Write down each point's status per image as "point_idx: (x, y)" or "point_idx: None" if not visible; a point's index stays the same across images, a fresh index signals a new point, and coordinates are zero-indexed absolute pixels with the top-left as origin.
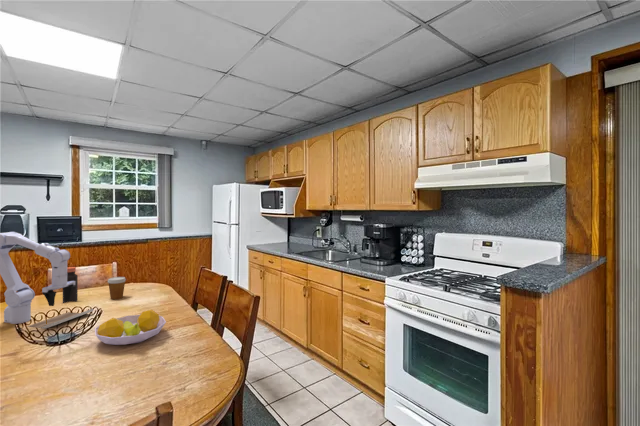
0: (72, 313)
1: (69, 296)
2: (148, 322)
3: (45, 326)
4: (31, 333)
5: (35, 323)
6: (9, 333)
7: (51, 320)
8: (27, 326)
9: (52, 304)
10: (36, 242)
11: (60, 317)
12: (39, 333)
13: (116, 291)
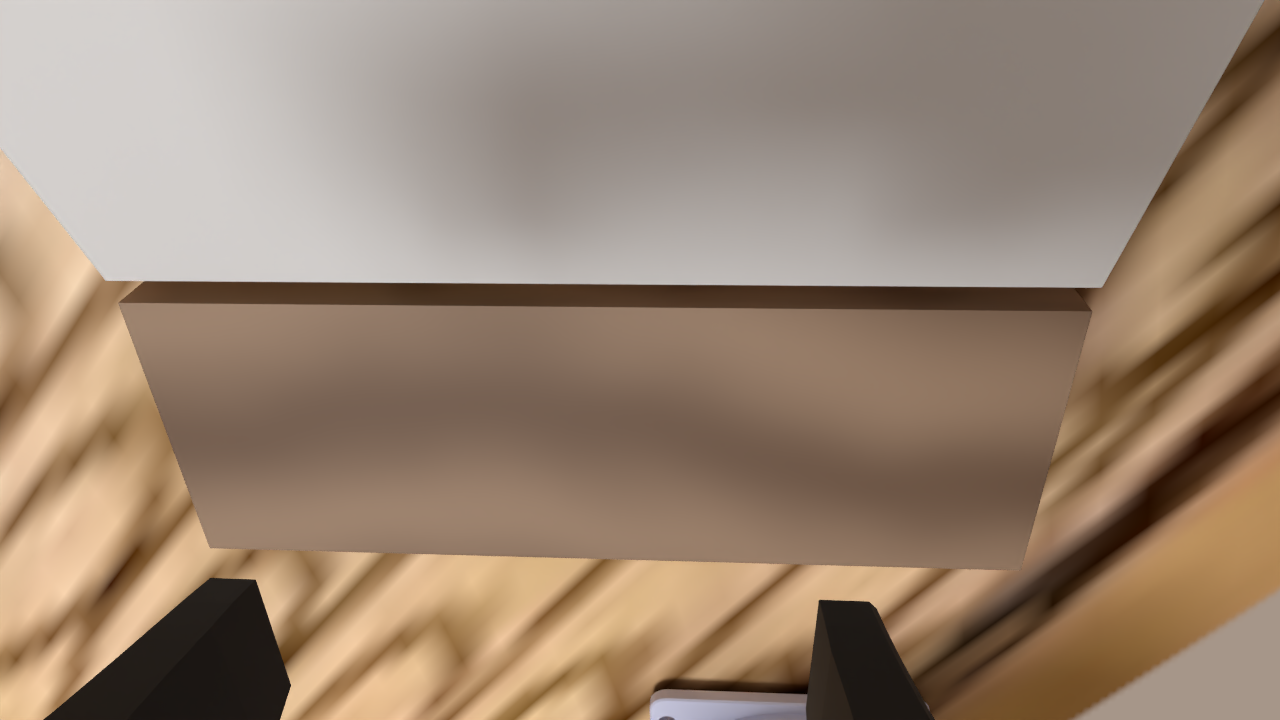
0: (218, 423)
1: (119, 718)
2: None
3: (1160, 162)
4: (1232, 284)
5: (858, 563)
6: (1200, 598)
7: (661, 452)
8: (1019, 557)
9: (893, 651)
10: None
11: (476, 440)
12: (1248, 126)
13: None
